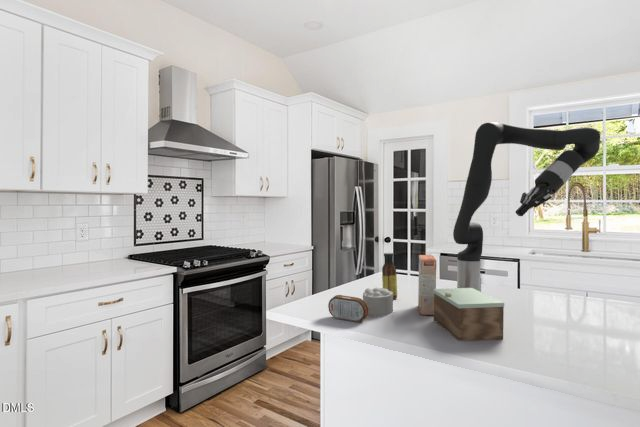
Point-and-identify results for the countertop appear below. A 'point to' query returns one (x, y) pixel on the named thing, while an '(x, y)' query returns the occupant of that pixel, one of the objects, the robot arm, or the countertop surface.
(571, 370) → the countertop surface
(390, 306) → the lumpy-topped squat cylinder
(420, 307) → the cracker box
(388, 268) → the sauce bottle
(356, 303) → the tin
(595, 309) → the countertop surface
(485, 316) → the walnut box
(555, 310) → the countertop surface
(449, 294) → the box lid
